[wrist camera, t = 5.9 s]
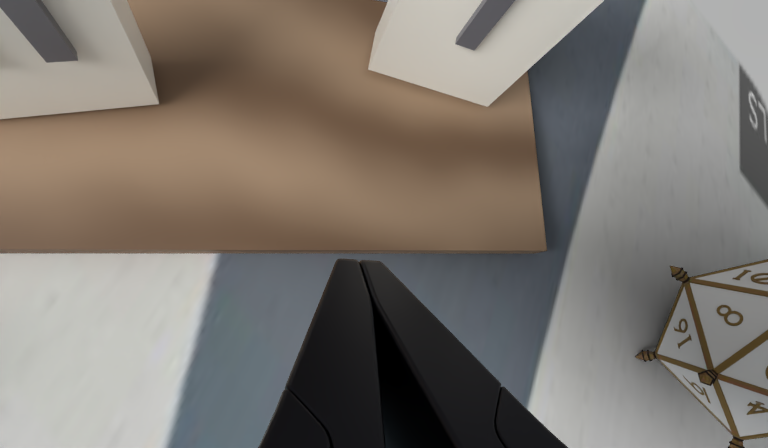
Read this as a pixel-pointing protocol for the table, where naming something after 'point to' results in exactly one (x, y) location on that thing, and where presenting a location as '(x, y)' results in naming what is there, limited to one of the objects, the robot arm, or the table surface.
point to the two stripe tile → (71, 58)
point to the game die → (722, 345)
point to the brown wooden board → (273, 148)
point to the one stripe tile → (470, 42)
